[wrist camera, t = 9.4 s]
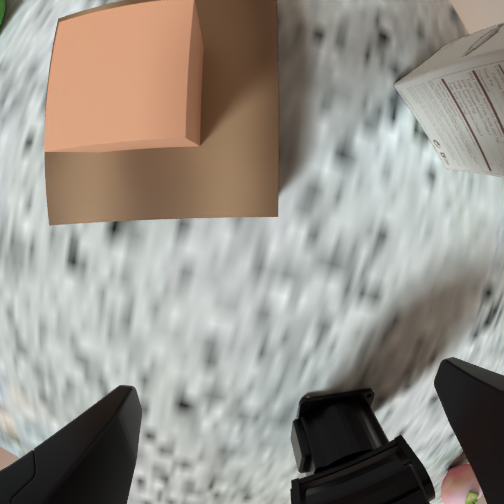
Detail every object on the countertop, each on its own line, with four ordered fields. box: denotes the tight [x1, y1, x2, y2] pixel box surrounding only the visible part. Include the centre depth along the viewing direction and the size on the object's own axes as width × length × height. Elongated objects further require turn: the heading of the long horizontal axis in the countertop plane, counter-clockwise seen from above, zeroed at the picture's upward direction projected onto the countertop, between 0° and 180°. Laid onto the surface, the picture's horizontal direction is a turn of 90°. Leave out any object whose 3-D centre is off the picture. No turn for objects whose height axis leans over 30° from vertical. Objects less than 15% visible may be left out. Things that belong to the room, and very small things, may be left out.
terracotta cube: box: [44, 0, 204, 153], centre depth 10 cm, size 5×5×5 cm
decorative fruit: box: [441, 464, 483, 504], centre depth 27 cm, size 9×8×10 cm
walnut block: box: [45, 0, 279, 225], centre depth 14 cm, size 12×12×4 cm
